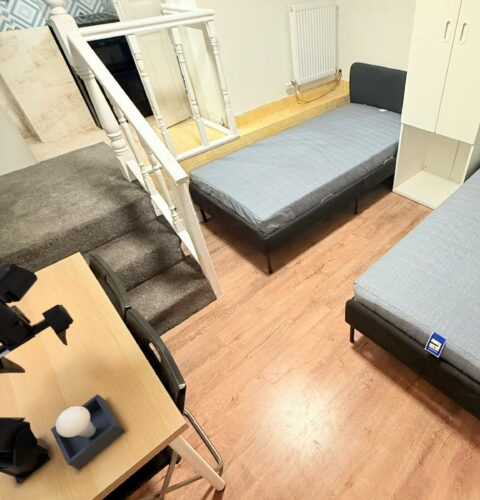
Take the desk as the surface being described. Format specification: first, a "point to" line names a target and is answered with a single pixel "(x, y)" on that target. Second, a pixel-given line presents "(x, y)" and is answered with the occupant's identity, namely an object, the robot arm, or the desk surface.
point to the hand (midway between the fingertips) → (45, 357)
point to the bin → (84, 448)
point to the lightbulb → (75, 423)
